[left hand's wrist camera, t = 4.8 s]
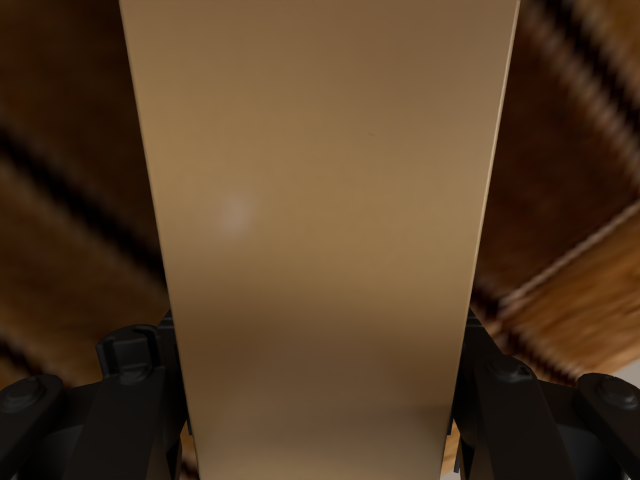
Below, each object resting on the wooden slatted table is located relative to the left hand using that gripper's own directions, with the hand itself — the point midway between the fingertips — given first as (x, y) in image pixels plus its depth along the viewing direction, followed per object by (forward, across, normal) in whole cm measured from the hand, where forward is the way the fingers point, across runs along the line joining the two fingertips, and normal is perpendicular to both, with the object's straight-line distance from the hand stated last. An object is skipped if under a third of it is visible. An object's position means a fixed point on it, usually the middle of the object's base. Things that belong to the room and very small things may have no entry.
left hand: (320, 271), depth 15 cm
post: (+1, 0, -20) cm, 20 cm away
